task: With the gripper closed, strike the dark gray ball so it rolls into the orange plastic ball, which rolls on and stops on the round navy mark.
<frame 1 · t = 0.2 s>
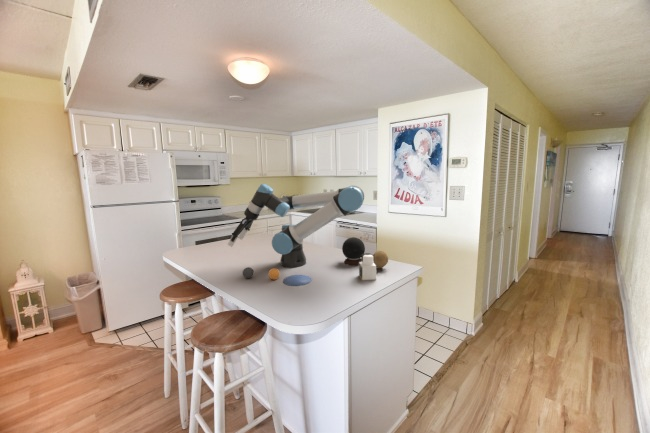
hand: (235, 242, 158), 16 cm above the table, tool tilted 35°, fingers open, 13 cm apart
medicine bottle: (367, 277, 143), on the table
black sphere on pedestal: (353, 263, 167), on the table
tan sphere on base: (379, 269, 155), on the table
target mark: (297, 280, 141), on the table
dark gray ball: (248, 272, 146), on the table
object ball: (274, 273, 143), on the table
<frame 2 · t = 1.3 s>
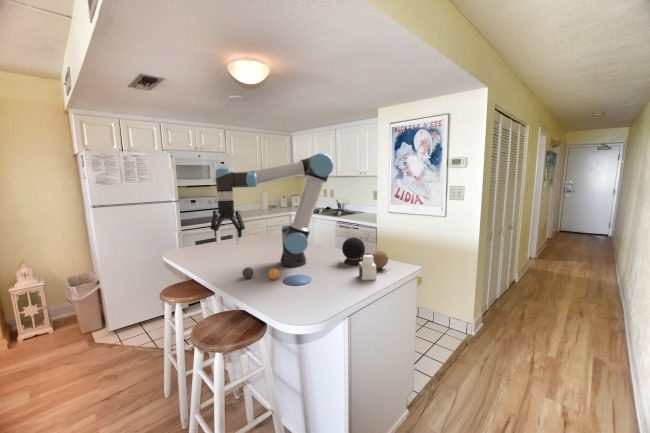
hand: (228, 243, 145), 18 cm above the table, tool pointing down, fingers open, 10 cm apart
nothing on the table moved.
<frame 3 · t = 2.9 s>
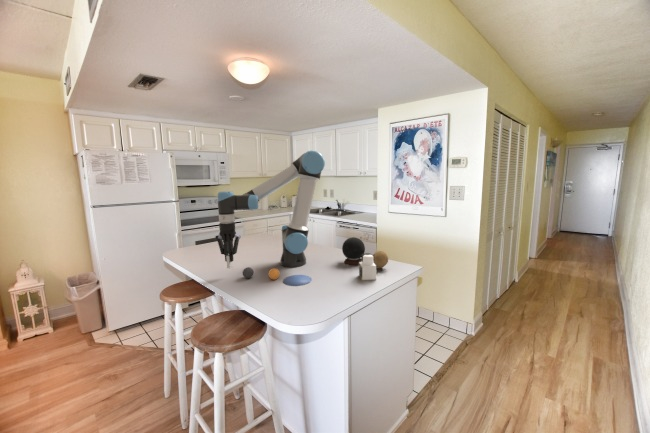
hand: (229, 267, 147), 5 cm above the table, tool pointing down, fingers closed
nothing on the table moved.
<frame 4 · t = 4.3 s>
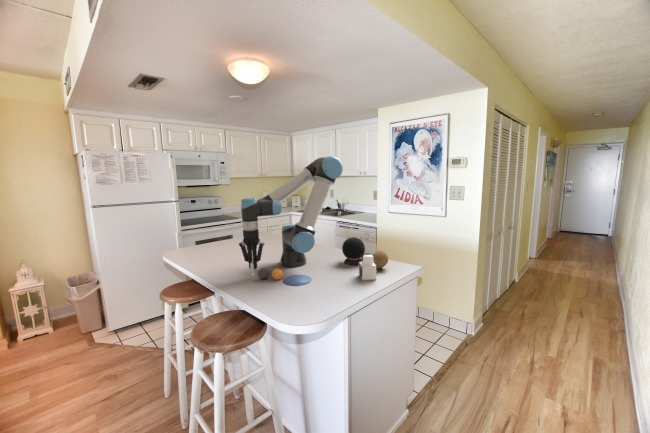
hand: (253, 274, 145), 2 cm above the table, tool pointing down, fingers closed
dark gray ball: (263, 273, 144), on the table
object ball: (277, 274, 143), on the table
everything else where it was.
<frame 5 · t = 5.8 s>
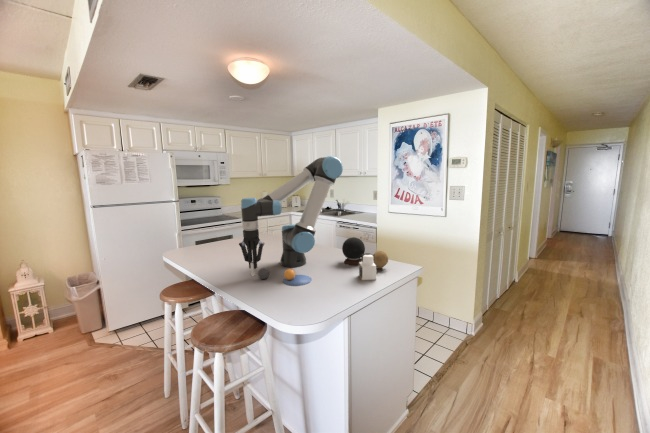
hand: (253, 274, 145), 2 cm above the table, tool pointing down, fingers closed
object ball: (289, 274, 142), on the table
everything else where it was.
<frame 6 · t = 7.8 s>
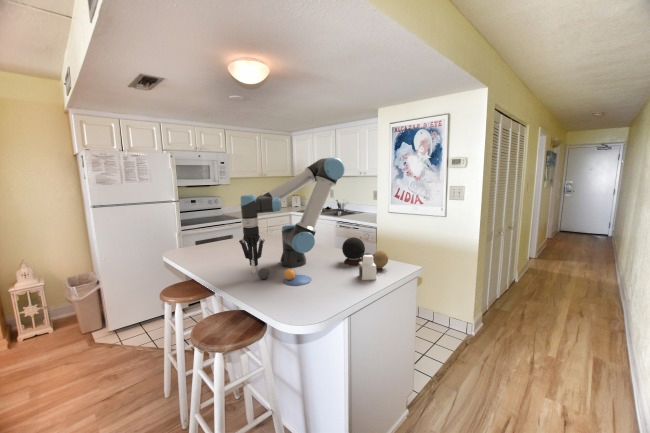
hand: (254, 271, 145), 3 cm above the table, tool pointing down, fingers closed
nothing on the table moved.
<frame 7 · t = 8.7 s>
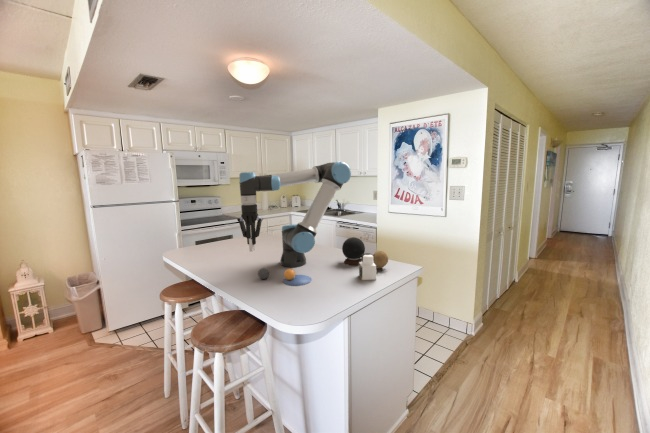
hand: (252, 250, 143), 14 cm above the table, tool pointing down, fingers closed
nothing on the table moved.
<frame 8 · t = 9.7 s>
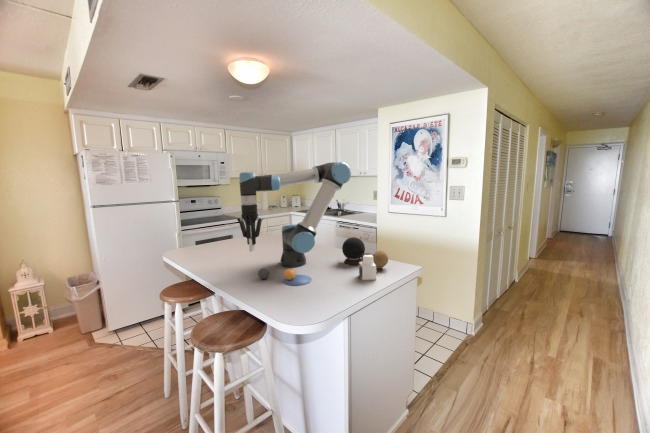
hand: (252, 250, 143), 14 cm above the table, tool pointing down, fingers closed
nothing on the table moved.
at the end: object ball 3.9 cm from the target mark (horizontally); object ball never touched the robot; dark gray ball first touched object ball at 4.1 s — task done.
